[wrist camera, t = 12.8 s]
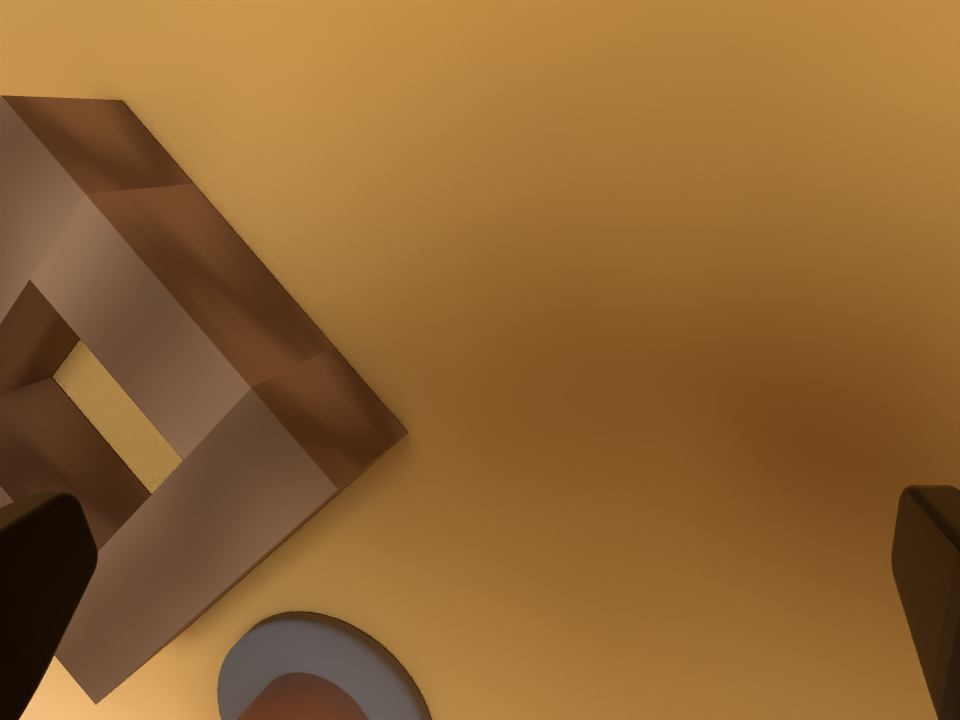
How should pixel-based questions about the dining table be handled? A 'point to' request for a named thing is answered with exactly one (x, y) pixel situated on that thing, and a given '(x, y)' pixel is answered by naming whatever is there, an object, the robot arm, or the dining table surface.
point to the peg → (303, 700)
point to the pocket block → (158, 378)
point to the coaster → (318, 666)
